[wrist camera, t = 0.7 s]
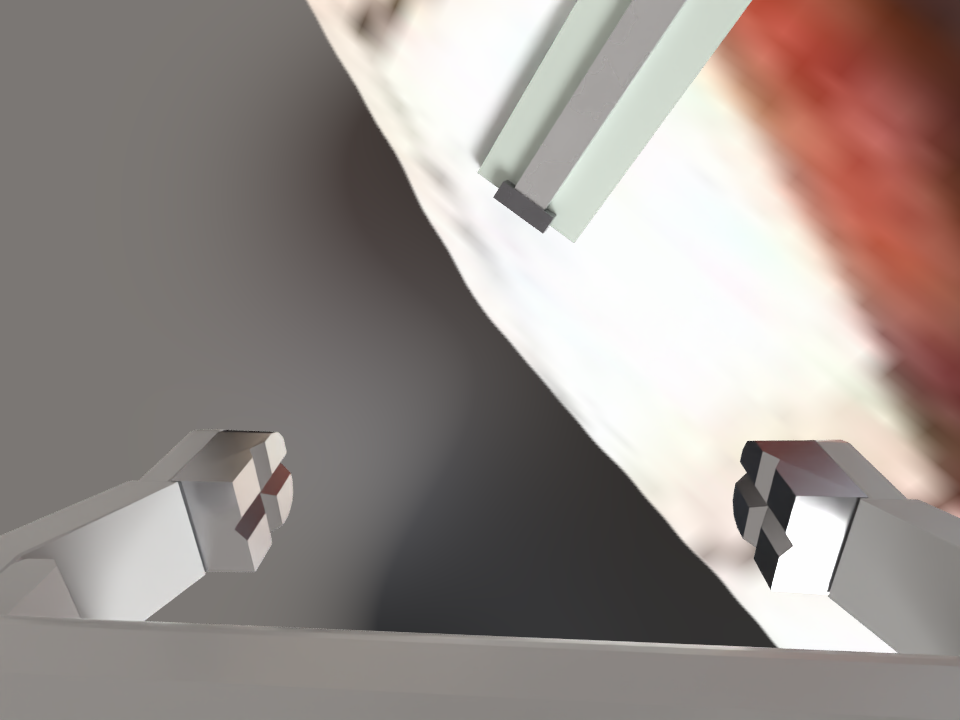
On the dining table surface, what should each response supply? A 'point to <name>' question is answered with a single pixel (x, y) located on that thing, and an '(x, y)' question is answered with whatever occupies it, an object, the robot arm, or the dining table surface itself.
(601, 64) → the rail
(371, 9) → the dining table surface
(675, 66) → the mounting board
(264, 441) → the robot arm
